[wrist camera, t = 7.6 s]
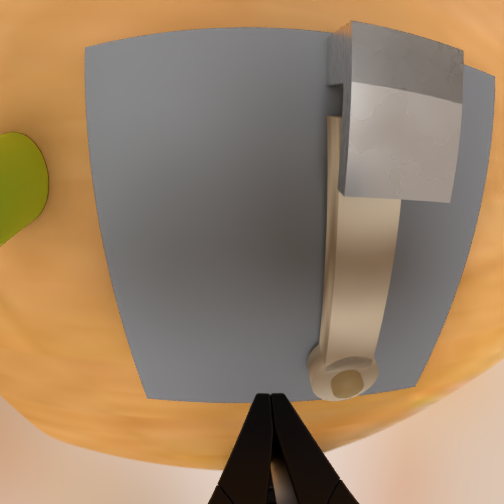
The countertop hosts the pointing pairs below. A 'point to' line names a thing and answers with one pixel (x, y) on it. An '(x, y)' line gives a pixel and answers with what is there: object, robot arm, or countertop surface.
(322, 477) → the robot arm
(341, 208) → the link
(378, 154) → the block
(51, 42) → the countertop surface
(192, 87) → the board
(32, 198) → the soap dispenser
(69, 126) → the countertop surface
